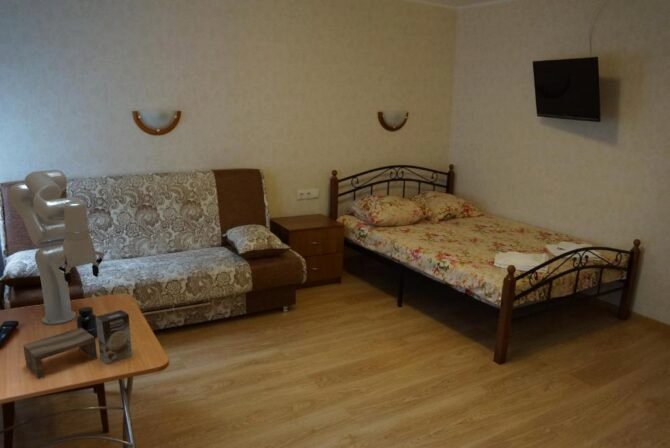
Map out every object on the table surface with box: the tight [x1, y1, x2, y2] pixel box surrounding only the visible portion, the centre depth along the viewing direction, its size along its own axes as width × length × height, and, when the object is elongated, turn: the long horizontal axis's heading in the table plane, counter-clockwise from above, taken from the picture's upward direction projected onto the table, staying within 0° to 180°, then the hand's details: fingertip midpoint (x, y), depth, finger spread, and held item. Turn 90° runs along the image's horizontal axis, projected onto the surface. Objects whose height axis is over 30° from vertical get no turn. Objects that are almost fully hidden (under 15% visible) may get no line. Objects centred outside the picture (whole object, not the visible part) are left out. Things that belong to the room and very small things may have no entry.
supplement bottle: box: [76, 306, 98, 340], centre depth 194 cm, size 7×7×12 cm
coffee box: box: [96, 309, 133, 365], centre depth 179 cm, size 9×6×16 cm
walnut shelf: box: [22, 328, 98, 380], centre depth 176 cm, size 12×19×8 cm, turn 137°
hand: (82, 279), depth 189 cm, fingers open, 9 cm apart
